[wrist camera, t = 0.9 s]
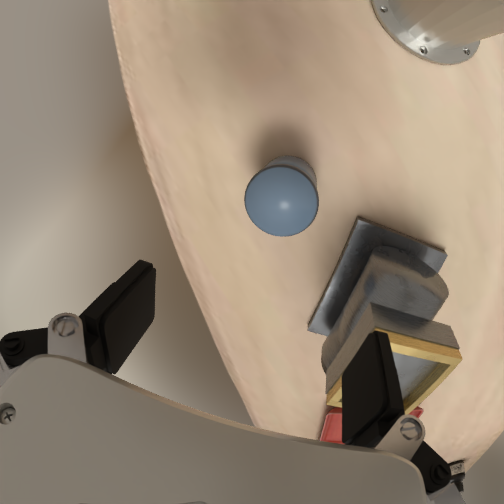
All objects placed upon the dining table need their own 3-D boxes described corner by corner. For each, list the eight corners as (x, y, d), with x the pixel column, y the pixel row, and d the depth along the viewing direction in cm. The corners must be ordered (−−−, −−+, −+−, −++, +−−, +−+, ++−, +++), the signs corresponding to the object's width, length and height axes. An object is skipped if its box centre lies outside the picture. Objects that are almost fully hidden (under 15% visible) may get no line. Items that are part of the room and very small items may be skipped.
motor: (357, 216, 29) (383, 295, 17) (444, 251, 28) (497, 331, 16) (307, 325, 37) (297, 418, 24) (385, 346, 36) (397, 433, 24)
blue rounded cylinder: (267, 146, 28) (253, 156, 22) (325, 164, 27) (328, 180, 21) (253, 201, 31) (236, 225, 25) (307, 218, 30) (305, 247, 24)
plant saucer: (394, 438, 48) (395, 450, 45) (317, 440, 52) (315, 452, 49) (422, 395, 40) (425, 409, 37) (327, 398, 44) (326, 413, 41)
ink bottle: (468, 458, 51) (472, 487, 41) (454, 468, 55) (457, 496, 45) (446, 462, 53) (449, 493, 43) (433, 472, 57) (434, 501, 47)
